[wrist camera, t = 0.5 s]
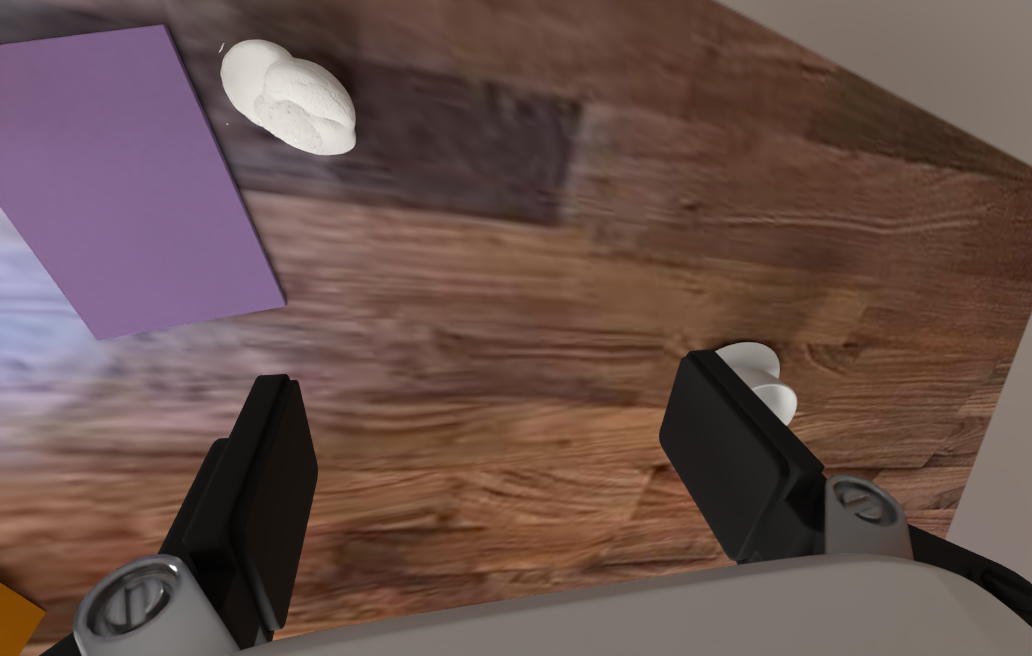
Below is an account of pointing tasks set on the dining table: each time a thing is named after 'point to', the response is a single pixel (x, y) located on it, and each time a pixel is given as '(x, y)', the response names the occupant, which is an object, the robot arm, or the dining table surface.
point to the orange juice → (16, 621)
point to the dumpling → (289, 97)
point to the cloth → (125, 184)
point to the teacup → (761, 376)
